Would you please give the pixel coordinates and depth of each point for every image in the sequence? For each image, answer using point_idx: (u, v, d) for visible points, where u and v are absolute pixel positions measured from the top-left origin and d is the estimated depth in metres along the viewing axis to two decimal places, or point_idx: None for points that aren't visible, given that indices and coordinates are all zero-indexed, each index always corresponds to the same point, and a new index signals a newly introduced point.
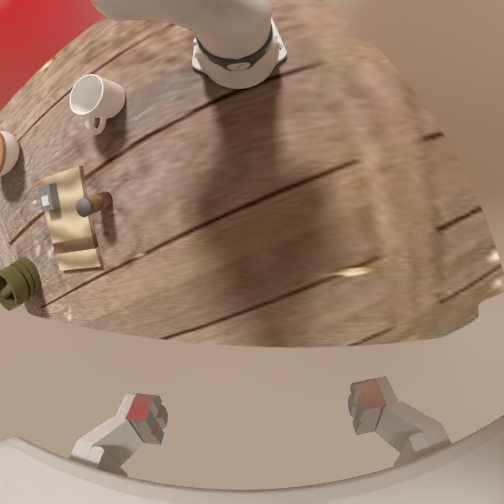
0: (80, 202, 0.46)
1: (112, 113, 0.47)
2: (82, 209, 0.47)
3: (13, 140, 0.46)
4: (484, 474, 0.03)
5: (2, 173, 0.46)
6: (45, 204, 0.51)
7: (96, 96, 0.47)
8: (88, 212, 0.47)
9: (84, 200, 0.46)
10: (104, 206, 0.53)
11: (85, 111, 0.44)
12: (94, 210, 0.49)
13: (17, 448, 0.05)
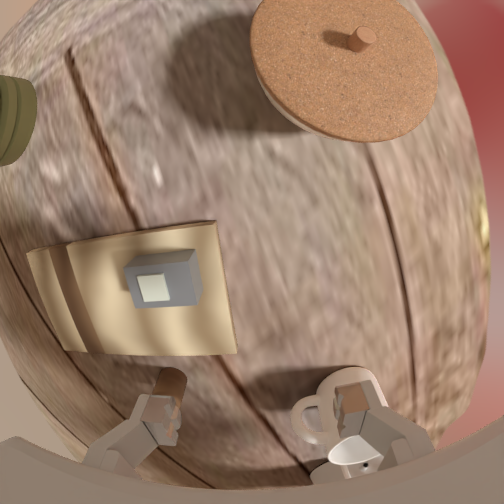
0: None
1: None
2: None
3: None
4: (484, 474, 0.03)
5: (262, 84, 0.16)
6: (143, 287, 0.22)
7: None
8: None
9: None
10: None
11: None
12: None
13: (17, 448, 0.05)
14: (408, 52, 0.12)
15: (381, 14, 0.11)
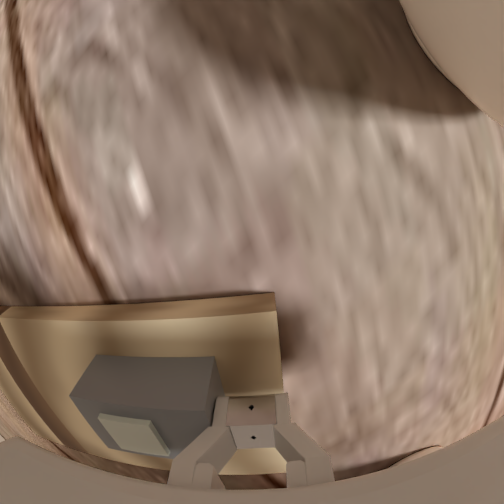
0: None
1: None
2: None
3: None
4: (484, 474, 0.03)
5: None
6: (115, 434, 0.09)
7: None
8: None
9: None
10: None
11: None
12: None
13: (17, 448, 0.05)
14: None
15: None
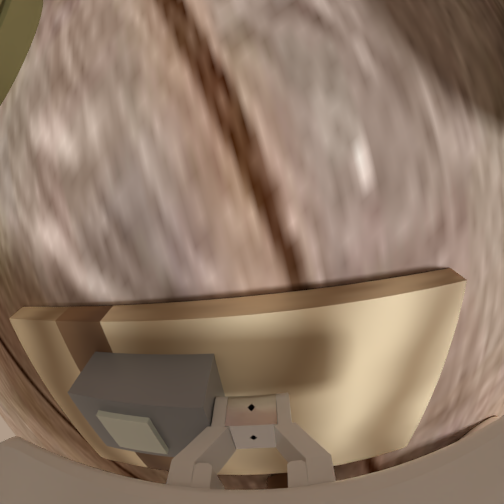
0: None
1: None
2: None
3: None
4: (484, 474, 0.03)
5: None
6: (114, 431, 0.09)
7: None
8: None
9: None
10: None
11: None
12: None
13: (17, 448, 0.05)
14: None
15: None
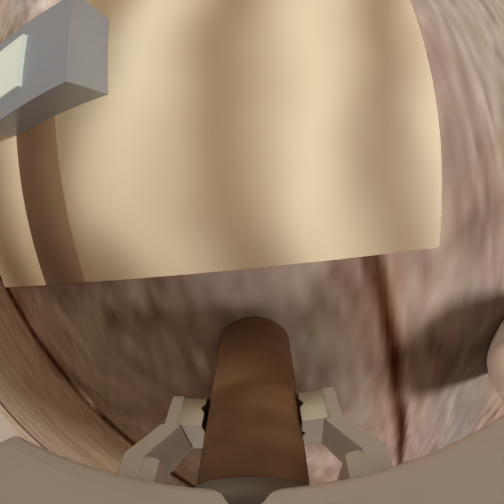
0: None
1: None
2: None
3: None
4: (484, 474, 0.03)
5: None
6: None
7: None
8: None
9: None
10: None
11: None
12: None
13: (17, 448, 0.05)
14: None
15: None
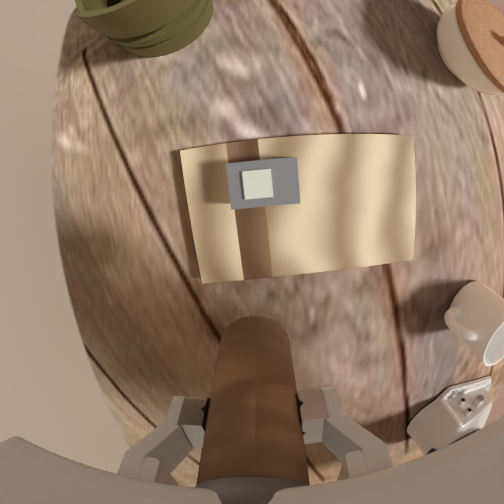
0: None
1: None
2: None
3: None
4: (484, 474, 0.03)
5: (459, 47, 0.16)
6: (247, 183, 0.23)
7: None
8: None
9: None
10: None
11: None
12: None
13: (17, 448, 0.05)
14: None
15: None
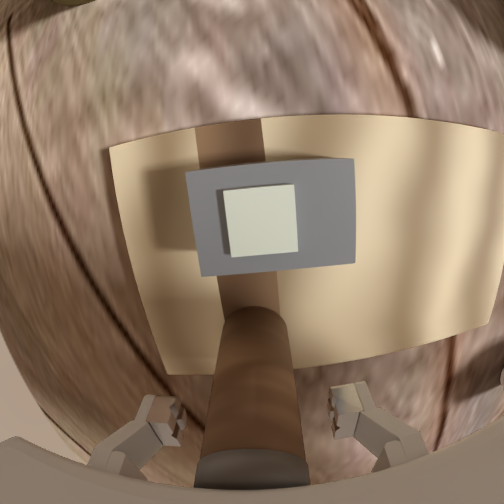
0: None
1: None
2: None
3: None
4: (484, 474, 0.03)
5: None
6: (237, 220, 0.10)
7: None
8: None
9: None
10: None
11: None
12: None
13: (17, 448, 0.05)
14: None
15: None
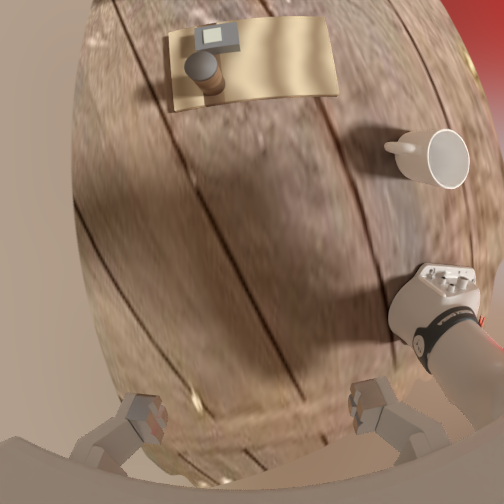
0: (210, 60, 0.25)
1: (402, 166, 0.37)
2: (197, 63, 0.25)
3: None
4: (484, 474, 0.03)
5: None
6: (206, 35, 0.29)
7: None
8: (191, 75, 0.26)
9: (212, 68, 0.26)
10: (201, 89, 0.32)
11: None
12: (194, 81, 0.28)
13: (17, 448, 0.05)
14: None
15: None
